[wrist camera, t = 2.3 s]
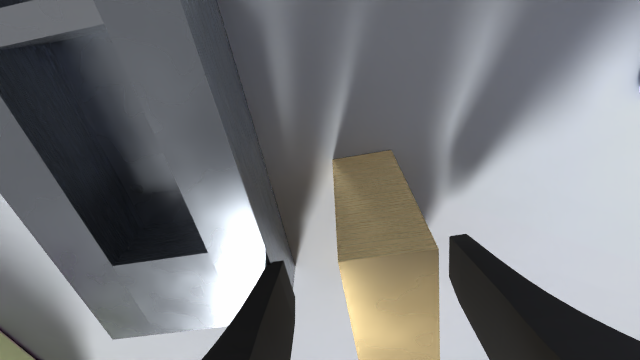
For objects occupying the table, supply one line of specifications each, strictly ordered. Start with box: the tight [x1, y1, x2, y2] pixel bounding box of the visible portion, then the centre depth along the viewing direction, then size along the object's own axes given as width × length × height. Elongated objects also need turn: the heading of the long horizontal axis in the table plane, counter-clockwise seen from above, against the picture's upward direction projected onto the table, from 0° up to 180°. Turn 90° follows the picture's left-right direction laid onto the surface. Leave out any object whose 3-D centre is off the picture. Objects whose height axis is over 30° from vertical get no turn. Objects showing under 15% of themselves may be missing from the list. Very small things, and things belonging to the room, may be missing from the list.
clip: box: [333, 150, 440, 360], centre depth 12 cm, size 2×7×6 cm, turn 10°
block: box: [0, 0, 295, 339], centre depth 9 cm, size 8×24×3 cm, turn 11°
